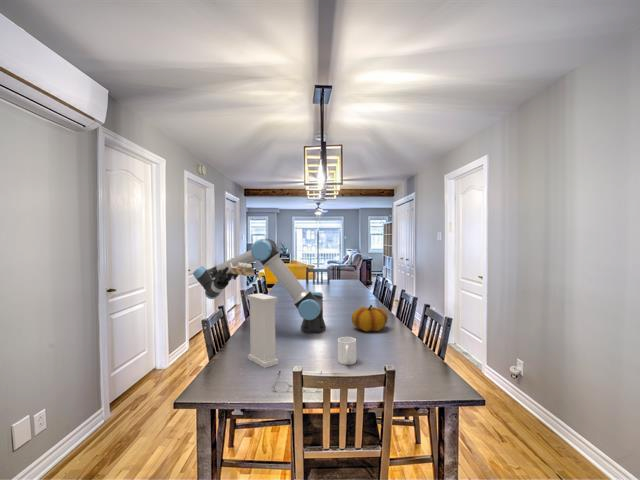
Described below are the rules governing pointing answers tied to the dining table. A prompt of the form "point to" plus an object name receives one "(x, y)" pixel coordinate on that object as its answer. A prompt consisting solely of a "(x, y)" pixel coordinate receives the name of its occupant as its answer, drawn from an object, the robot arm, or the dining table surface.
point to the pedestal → (262, 329)
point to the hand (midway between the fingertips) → (235, 265)
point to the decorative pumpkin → (369, 318)
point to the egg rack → (242, 269)
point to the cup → (346, 350)
